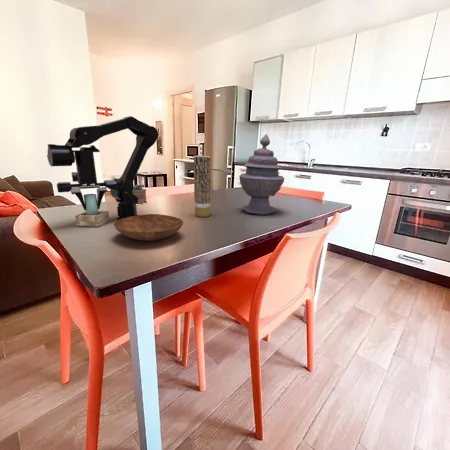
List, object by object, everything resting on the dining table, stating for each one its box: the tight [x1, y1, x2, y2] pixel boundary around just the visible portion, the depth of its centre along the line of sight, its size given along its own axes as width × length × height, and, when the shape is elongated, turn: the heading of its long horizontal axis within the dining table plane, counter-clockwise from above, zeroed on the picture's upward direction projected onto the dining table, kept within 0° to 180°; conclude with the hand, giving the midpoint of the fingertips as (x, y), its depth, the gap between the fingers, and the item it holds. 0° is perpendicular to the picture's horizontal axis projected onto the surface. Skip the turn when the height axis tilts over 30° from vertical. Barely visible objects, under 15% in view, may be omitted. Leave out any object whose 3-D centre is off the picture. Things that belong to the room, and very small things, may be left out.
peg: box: [83, 193, 99, 215], centre depth 89 cm, size 4×4×10 cm
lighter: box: [133, 184, 148, 205], centre depth 126 cm, size 8×3×10 cm, turn 143°
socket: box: [74, 210, 111, 228], centre depth 90 cm, size 8×8×4 cm
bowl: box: [113, 213, 184, 242], centre depth 77 cm, size 20×22×5 cm
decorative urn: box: [238, 133, 285, 216], centre depth 110 cm, size 20×20×35 cm
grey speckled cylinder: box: [193, 155, 212, 218], centre depth 102 cm, size 7×7×25 cm
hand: (92, 209), depth 89 cm, fingers closed on peg, 4 cm apart
